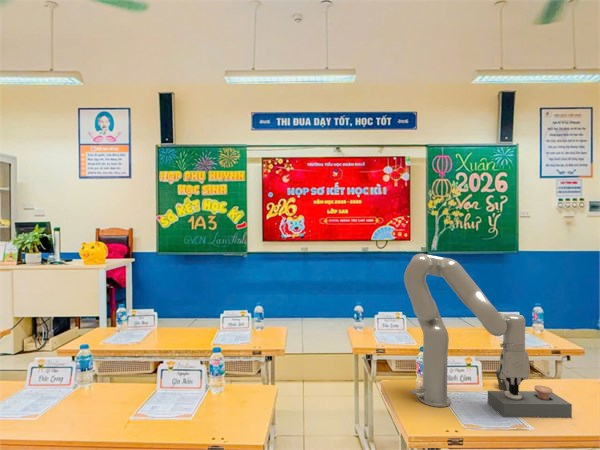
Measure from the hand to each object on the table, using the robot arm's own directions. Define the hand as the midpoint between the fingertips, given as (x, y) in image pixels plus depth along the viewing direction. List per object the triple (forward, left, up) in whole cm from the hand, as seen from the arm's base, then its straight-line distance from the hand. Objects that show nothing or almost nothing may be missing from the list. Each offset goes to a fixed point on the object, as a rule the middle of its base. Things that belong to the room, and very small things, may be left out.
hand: (513, 393), depth 155 cm
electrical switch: (+9, +22, -7) cm, 25 cm away
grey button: (0, 0, -5) cm, 5 cm away
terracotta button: (+12, 0, -3) cm, 12 cm away
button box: (+6, 0, -6) cm, 9 cm away
